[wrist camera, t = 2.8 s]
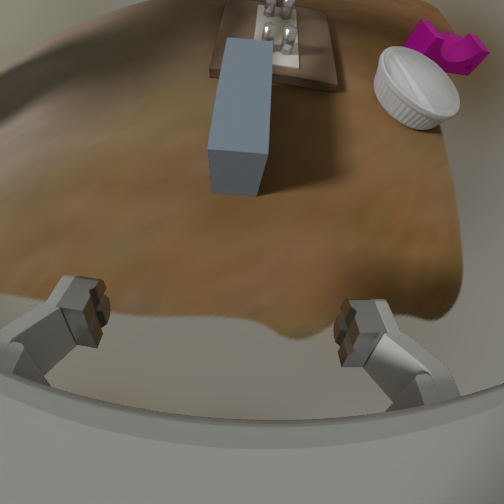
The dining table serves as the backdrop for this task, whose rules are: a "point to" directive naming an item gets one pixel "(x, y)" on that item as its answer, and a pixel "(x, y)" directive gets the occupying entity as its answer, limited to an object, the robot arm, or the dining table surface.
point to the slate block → (241, 118)
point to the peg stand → (282, 41)
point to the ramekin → (414, 89)
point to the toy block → (447, 48)
